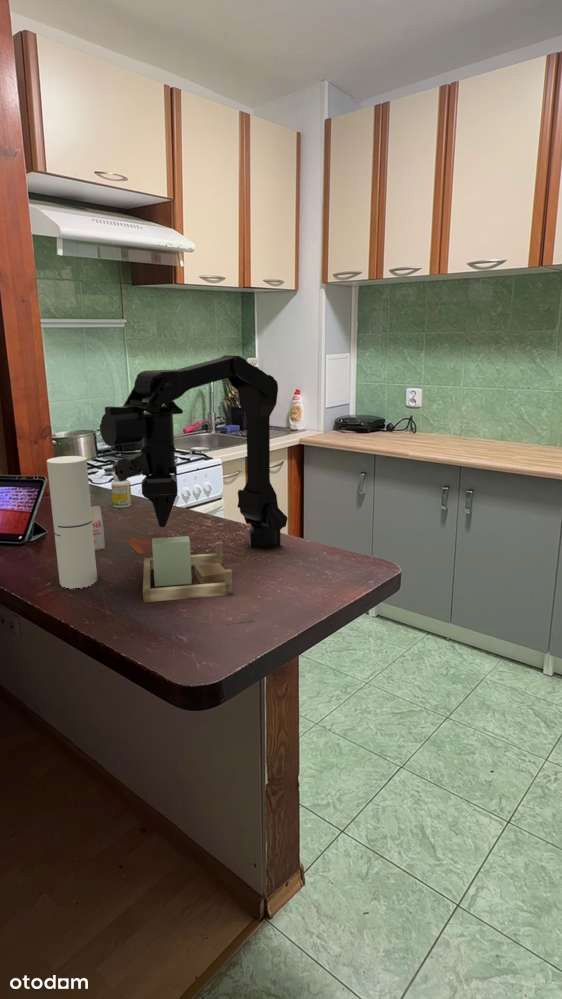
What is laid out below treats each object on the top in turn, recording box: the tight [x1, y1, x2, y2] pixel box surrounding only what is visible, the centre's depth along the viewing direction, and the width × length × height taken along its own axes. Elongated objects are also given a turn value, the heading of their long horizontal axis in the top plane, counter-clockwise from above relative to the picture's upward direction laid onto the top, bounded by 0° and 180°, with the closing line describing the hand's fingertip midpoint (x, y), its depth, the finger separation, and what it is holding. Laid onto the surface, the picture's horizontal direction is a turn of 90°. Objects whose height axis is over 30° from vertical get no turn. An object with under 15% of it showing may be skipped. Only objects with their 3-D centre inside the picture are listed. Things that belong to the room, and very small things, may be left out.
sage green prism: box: [152, 535, 193, 588], centre depth 116 cm, size 7×4×10 cm, turn 102°
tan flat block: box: [194, 563, 226, 584], centre depth 118 cm, size 5×6×2 cm
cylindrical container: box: [46, 455, 98, 590], centre depth 118 cm, size 7×7×25 cm
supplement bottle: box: [111, 472, 132, 509], centre depth 175 cm, size 5×5×10 cm
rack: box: [142, 541, 233, 603], centre depth 117 cm, size 16×17×6 cm
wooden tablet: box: [129, 532, 167, 554], centre depth 138 cm, size 27×10×2 cm, turn 26°
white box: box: [91, 505, 106, 551], centre depth 139 cm, size 4×7×10 cm, turn 118°
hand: (162, 519), depth 117 cm, fingers open, 9 cm apart
